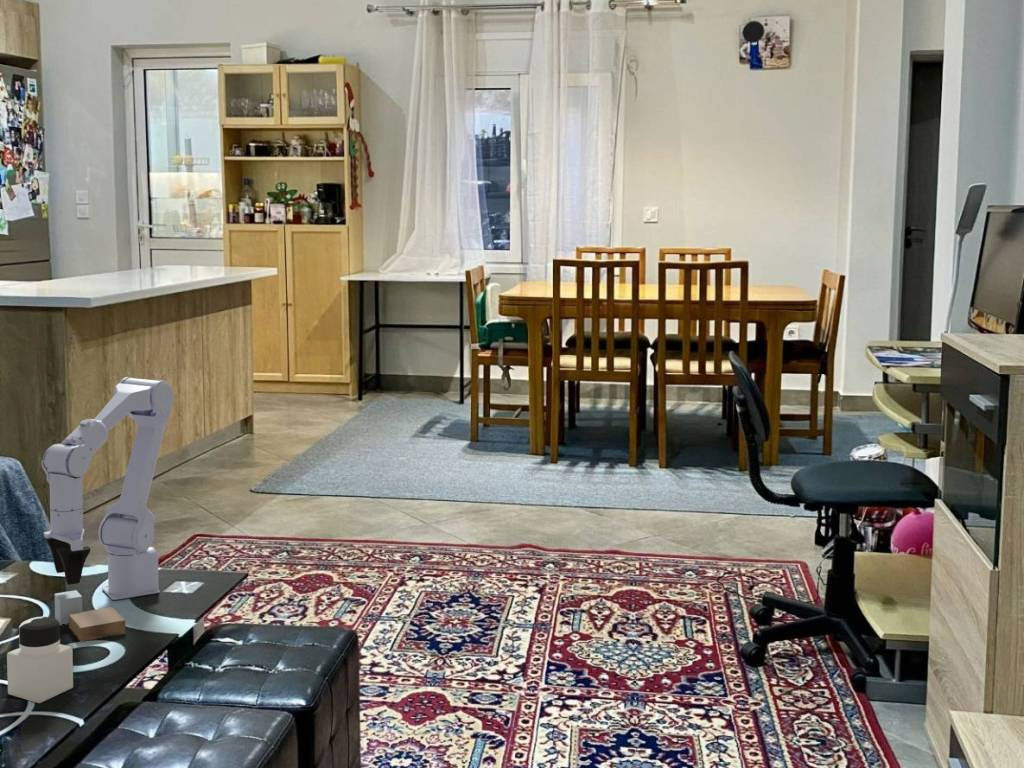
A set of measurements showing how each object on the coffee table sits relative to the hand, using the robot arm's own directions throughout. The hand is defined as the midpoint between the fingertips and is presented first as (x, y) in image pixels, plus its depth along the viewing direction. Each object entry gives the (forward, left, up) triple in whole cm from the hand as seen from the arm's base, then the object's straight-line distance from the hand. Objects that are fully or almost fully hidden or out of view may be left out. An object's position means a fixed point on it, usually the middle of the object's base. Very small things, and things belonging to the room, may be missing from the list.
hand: (67, 577), depth 210 cm
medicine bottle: (+12, +30, -9) cm, 33 cm away
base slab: (-3, +8, -9) cm, 12 cm away
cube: (0, 0, -8) cm, 8 cm away
